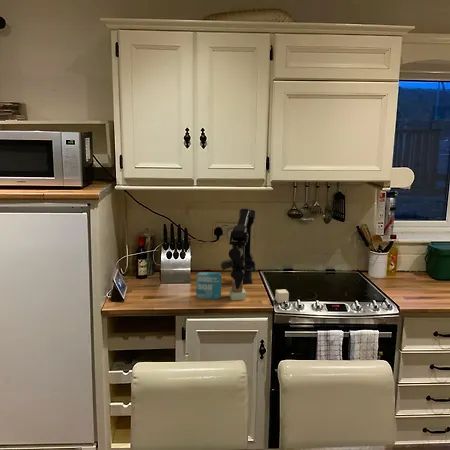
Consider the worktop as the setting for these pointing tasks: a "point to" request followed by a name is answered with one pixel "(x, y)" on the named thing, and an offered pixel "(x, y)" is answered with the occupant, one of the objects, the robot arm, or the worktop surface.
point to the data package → (208, 285)
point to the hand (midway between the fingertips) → (237, 285)
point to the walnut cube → (235, 287)
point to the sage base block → (237, 295)
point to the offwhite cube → (282, 296)
